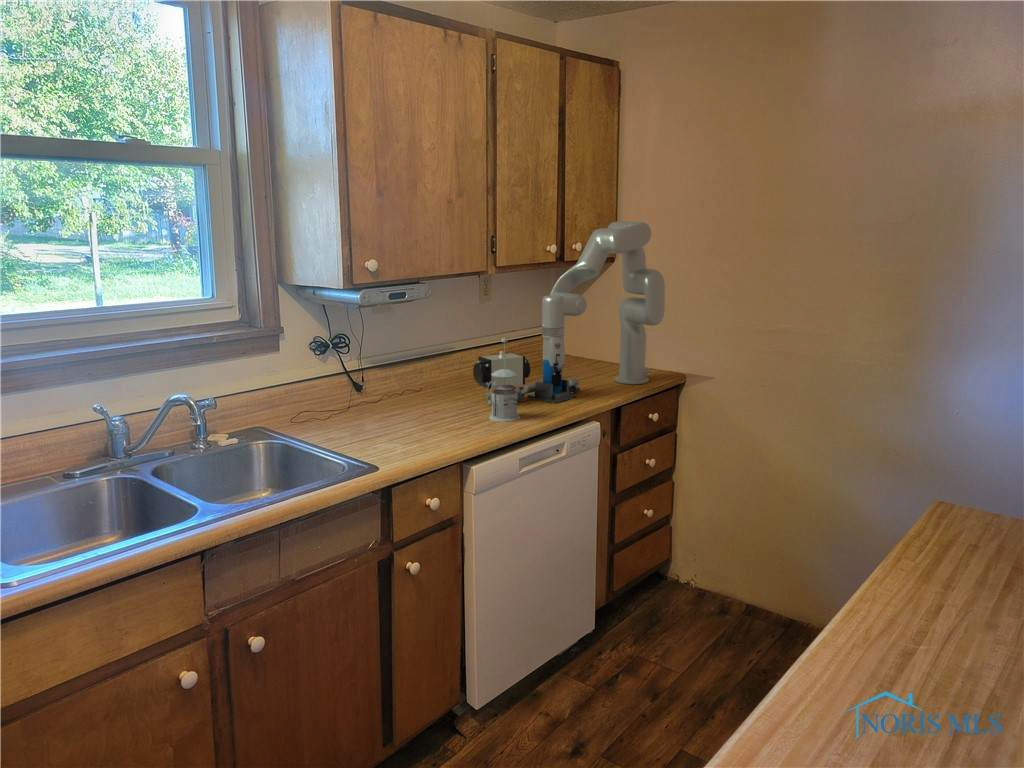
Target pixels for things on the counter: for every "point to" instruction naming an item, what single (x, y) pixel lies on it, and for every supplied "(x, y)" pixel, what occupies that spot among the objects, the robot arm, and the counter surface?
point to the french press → (503, 396)
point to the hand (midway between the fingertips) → (552, 383)
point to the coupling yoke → (548, 391)
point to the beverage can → (550, 375)
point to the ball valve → (495, 363)
